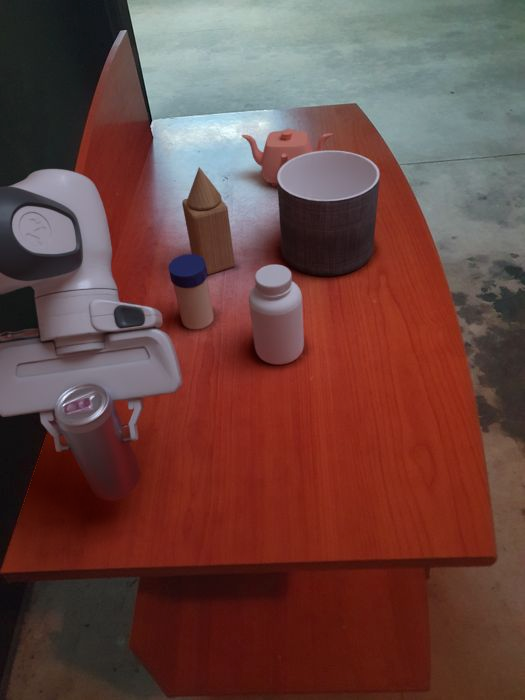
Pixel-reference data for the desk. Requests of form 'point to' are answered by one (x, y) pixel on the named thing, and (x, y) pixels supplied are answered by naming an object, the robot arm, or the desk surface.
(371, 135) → the desk surface
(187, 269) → the jar lid
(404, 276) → the desk surface
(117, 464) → the beverage can
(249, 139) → the teapot
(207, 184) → the decorative item
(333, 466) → the desk surface
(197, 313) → the jar
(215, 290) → the desk surface
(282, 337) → the pill bottle
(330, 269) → the planter
